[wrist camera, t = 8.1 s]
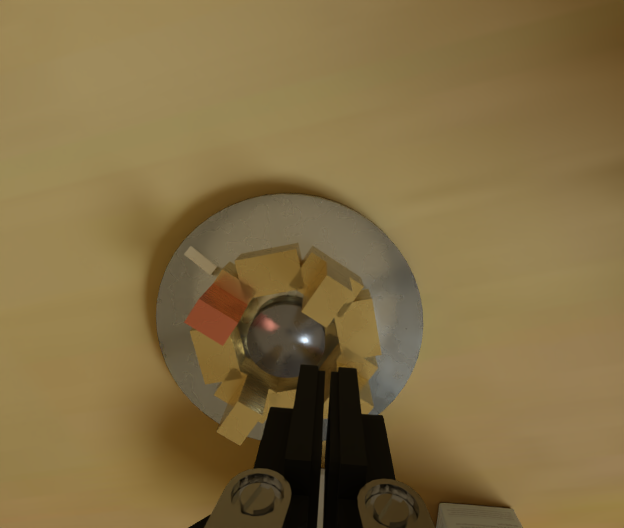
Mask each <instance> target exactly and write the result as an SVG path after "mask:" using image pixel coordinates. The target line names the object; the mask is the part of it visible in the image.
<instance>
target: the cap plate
mask: <svg viewBox="0 0 624 528" xmlns="http://www.w3.org/2000/svg"><path fill="white" fill-rule="evenodd" d="M294 243H299V248H300V252H301V257H302V260H303V259H304V257H305V256H306V254H307V253H308V251H309V250H310V248H311V247H312V246H314V247H316V248H317V249H319V250H320V251H322V252H323V253H325V254H326V255H328V256H329V257H331V258H332V259H334V260H335V261H337V262H338V263H340V264H341V265H343V266H344V267H346V268H347V269H349V270H350V271H352V272H353V273H355V274H356V275H358V276H359V277H361V279H362V282H363V285H364V287H363V289H362V290H364V289H369V292H370V294H371V297H372V301H373V307H374V313H375V319H376V324H377V330H378V336H379V342H380V348H381V353H382V355H378V356H375V357H376V361H377V365H378V369H377V370H376V371H375V373H374V374H373V375H372V376H371V378H370V379H369V380H368V381H369V385H370V390H371V395H372V400H373V404H374V408H373V409H372V410H371V411H370V413H369V414H372V415H378V414H380V413H381V412H382V411H383V410H384V409H385V408H386V407H387V406H388V405H389V404H390V403H391V402H392V401H393V400H394V399H395V398H396V396H397V395H398V394H399V392H400V391H401V390H402V389H403V387H404V386H405V384H406V382H407V380H408V379H409V377H410V375H411V373H412V371H413V368H414V366H415V363H416V361H417V358H418V354H419V350H420V346H421V342H422V333H423V310H422V304H421V299H420V293H419V290H418V287H417V284H416V281H415V278H414V276H413V274H412V272H411V270H410V268H409V266H408V264H407V262H406V260H405V259H404V257H403V256H402V254H401V253H400V251H399V250H398V248H397V247H396V246H395V245H394V243H393V242H392V241H391V240H390V239H389V238H388V237H387V236H386V235H385V234H384V232H383V231H382V230H381V229H379V228H378V227H377V226H376V225H375V224H374V223H372V222H371V221H370V220H369V219H367V218H366V217H364V216H363V215H361V214H359V213H358V212H356V211H355V210H353V209H351V208H349V207H347V206H345V205H342V204H340V203H338V202H335V201H332V200H329V199H326V198H322V197H319V196H313V195H307V194H299V193H278V194H269V195H262V196H258V197H254V198H250V199H247V200H244V201H242V202H239V203H236V204H234V205H231V206H229V207H227V208H225V209H223V210H221V211H220V212H218V213H216V214H214V215H213V216H211V217H210V218H208V219H207V220H206V221H204V222H203V223H202V224H200V225H199V226H198V227H197V228H196V229H195V230H194V231H193V232H192V233H191V234H190V235H189V236H188V237H187V238H186V239H185V240H184V241H183V242H182V244H181V245H180V246H179V248H178V249H177V250H176V252H175V253H174V255H173V257H172V259H171V260H170V262H169V264H168V266H167V268H166V270H165V273H164V276H163V279H162V281H161V284H160V289H159V293H158V298H157V309H156V324H157V334H158V339H159V344H160V348H161V351H162V354H163V357H164V360H165V363H166V365H167V367H168V369H169V371H170V373H171V375H172V377H173V378H174V380H175V381H176V383H177V384H178V386H179V387H180V389H181V390H182V391H183V393H184V394H185V395H186V396H187V397H188V398H189V399H190V400H191V402H192V403H193V404H194V405H195V406H197V407H198V408H199V409H200V410H201V411H202V412H203V413H204V414H206V415H207V416H209V417H210V418H211V419H213V420H214V421H216V422H217V423H219V424H220V421H221V419H222V416H223V414H224V411H225V409H226V406H227V404H228V403H226V402H224V401H223V400H221V399H219V398H218V397H216V396H214V393H215V391H216V389H217V387H218V385H219V383H220V382H218V383H212V384H206V385H205V382H204V379H203V375H202V372H201V369H200V365H199V362H198V358H197V355H196V352H195V348H194V345H193V341H192V338H191V334H190V330H191V329H192V327H191V326H189V325H187V324H186V323H184V322H185V320H186V318H187V317H188V315H189V314H190V312H191V311H192V309H193V307H194V306H195V304H196V303H197V301H198V299H199V298H200V297H201V296H202V295H203V294H204V293H205V292H206V291H207V289H208V288H209V287H210V286H211V285H212V284H213V283H214V281H215V280H216V278H217V276H218V275H219V273H220V272H221V270H222V269H223V268H224V267H225V266H226V265H227V264H228V262H229V261H230V262H232V263H233V264H235V260H236V259H237V257H238V256H239V255H240V254H242V253H247V252H252V251H258V250H263V249H268V248H273V247H278V246H284V245H289V244H294ZM303 296H304V295H303V294H302V293H300V292H299V291H297V290H293V291H288V292H282V293H277V294H271V295H266V296H260V297H255V298H252V299H251V301H250V302H249V304H248V306H247V308H246V309H245V311H244V313H243V315H242V317H241V319H240V321H239V322H238V324H237V325H238V328H239V332H240V336H241V340H242V344H243V348H244V351H245V355H246V357H247V358H249V359H251V360H252V361H254V362H255V364H256V365H257V366H258V367H259V368H260V369H262V370H263V371H265V372H266V373H268V374H271V375H273V376H276V377H282V378H293V377H298V376H299V371H300V365H301V364H305V365H318V369H319V368H320V367H321V365H322V364H323V363H324V361H325V360H326V359H327V357H328V356H329V355H330V353H331V352H332V351H333V349H334V348H335V347H336V345H337V344H338V343H339V339H338V334H337V329H336V324H335V319H334V318H333V320H332V321H331V323H330V324H329V325H328V327H327V328H326V327H324V326H323V325H321V324H320V323H318V322H317V321H315V320H313V319H312V318H310V317H309V316H307V315H306V314H304V313H302V312H301V310H302V303H303ZM266 420H267V419H266ZM266 420H265V422H264V423H263V424H262V423H260V422H257V424H256V425H255V426H254V428H253V429H252V430H251V432H250V433H249V435H248V436H247V437H250V438H254V439H257V440H261V439H262V435H263V431H264V427H265V424H266ZM327 422H328V419H323V435H322V441H325V440H326V436H327Z"/></svg>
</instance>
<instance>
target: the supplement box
mask: <svg viewBox="0 0 624 528" xmlns="http://www.w3.org/2000/svg"><path fill="white" fill-rule="evenodd" d="M436 528H523V527H522V525H521V523H520V521H519V520H518V518H517V516H516V514H515V512H514V510H513V509H509V508H500V507H488V506H477V505H465V504H453V503H440V504H439V511H438V518H437V525H436Z"/></svg>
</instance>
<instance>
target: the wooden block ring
mask: <svg viewBox="0 0 624 528" xmlns="http://www.w3.org/2000/svg"><path fill="white" fill-rule="evenodd" d="M363 287H364V285H363V282H362V279H361V277H359V276H358V275H356V274H355V273H353V272H352V271H350V270H349V269H347V268H346V267H344V266H343V265H341V264H340V263H338V262H337V261H335V260H334V259H332V258H331V257H329V256H328V255H326V254H325V253H323V252H322V251H320V250H319V249H317V248H316V247H314V246H312V247H311V248H310V250H309V251H308V253H307V254H306V256H305V257H304V259H303V260H302V257H301V252H300V248H299V243H294V244H289V245H284V246H278V247H273V248H268V249H263V250H258V251H252V252H247V253H242V254H240V255H239V256H238V257H237V259H236V260H235V264H233V263H232V262H230V261H229V262H228V264H227V265H226V266H225V267H224V268H223V269H222V270H221V272H220V273H219V275H218V276H217V278H216V280H215V281H214V283H213V284H212V285H211V286H210V287H209V288H208V289H207V291H206V292H205V293H204V294H203V295H202V296H201V297H200V298H199V299H198V301H197V303H196V304H195V306H194V307H193V309H192V311H191V312H190V314H189V315H188V317H187V318H186V320H185V322H184V323H186V324H187V325H189V326H191V327H192V329H191V330H190V334H191V338H192V341H193V345H194V348H195V352H196V355H197V358H198V362H199V365H200V369H201V372H202V375H203V379H204V382H205V385H206V384H212V383H218V382H220V383H219V385H218V387H217V389H216V391H215V393H214V396H216V397H218V398H219V399H221V400H223V401H224V402H226V403H228V404H227V406H226V409H225V411H224V414H223V416H222V419H221V421H220V424H219V426H218V429H217V431H216V432H217V433H219V434H221V435H222V436H224V437H226V438H227V439H229V440H231V441H233V442H234V443H236V444H238V445H241V444H242V443H243V441H244V440H245V439H246V437H247V436H248V435H249V433H250V432H251V430H252V429H253V428H254V426H255V425H256V424H257V422H260V423H262V424H263V423H264V422H265V420H266V419H267V416H268V412H269V409H270V407H281V408H293V407H294V401H295V395H296V389H297V383H298V377H299V376H298V377H293V378H282V377H276V376H273V375H271V374H268V373H266V372H265V371H263V370H262V369H260V368H259V367H258V366H257V365H256V364H255V362H254V361H252V360H251V359H249V358H247V357H246V355H245V351H244V348H243V344H242V340H241V336H240V332H239V328H238V325H237V324H238V322H239V321H240V319H241V317H242V315H243V313H244V311H245V309H246V308H247V306H248V304H249V302H250V301H251V299H252V298H255V297H260V296H266V295H271V294H277V293H282V292H288V291H293V290H297V291H299V292H300V293H302V294H303V295H304V296H303V303H302V310H301V312H302V313H304V314H306V315H307V316H309V317H310V318H312V319H313V320H315V321H317V322H318V323H320V324H321V325H323V326H324V327H326V328H327V327H328V325H329V324H330V323H331V321H332V320H333V318H334V319H335V324H336V329H337V334H338V339H339V343H338V344H337V345H336V347H335V348H334V349H333V351H332V352H331V353H330V355H329V356H328V357H327V359H326V360H325V361H324V363H323V364H322V365H321V367H320V368H319V369H318V370H320V371H325V390H324V413H323V419H328V407H329V393H330V379H331V371H334V372H338V367H346V368H357V376H358V385H359V394H360V404H361V413H362V414H369V413H370V411H371V410H372V409H373V408H374V404H373V400H372V395H371V390H370V385H369V381H368V380H369V379H370V378H371V376H372V375H373V374H374V373H375V371H376V370H377V369H378V365H377V361H376V357H375V356H378V355H382V353H381V348H380V342H379V336H378V330H377V324H376V319H375V313H374V307H373V301H372V297H371V294H370V292H369V289H364V290H362V289H363Z"/></svg>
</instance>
